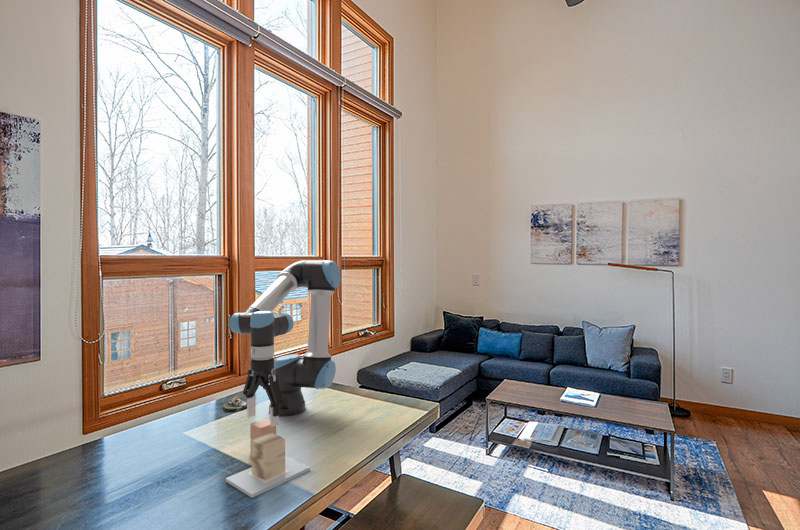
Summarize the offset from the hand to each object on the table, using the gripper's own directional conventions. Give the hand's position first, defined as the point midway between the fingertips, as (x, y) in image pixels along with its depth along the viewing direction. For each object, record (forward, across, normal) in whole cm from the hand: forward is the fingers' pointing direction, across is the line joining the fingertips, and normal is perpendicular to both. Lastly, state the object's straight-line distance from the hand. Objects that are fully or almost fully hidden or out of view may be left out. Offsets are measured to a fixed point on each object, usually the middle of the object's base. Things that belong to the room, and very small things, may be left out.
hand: (262, 421), depth 147 cm
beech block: (+10, +15, -8) cm, 19 cm away
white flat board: (+11, +15, -8) cm, 20 cm away
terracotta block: (+11, 0, 0) cm, 11 cm away
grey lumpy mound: (+11, -49, +18) cm, 53 cm away
